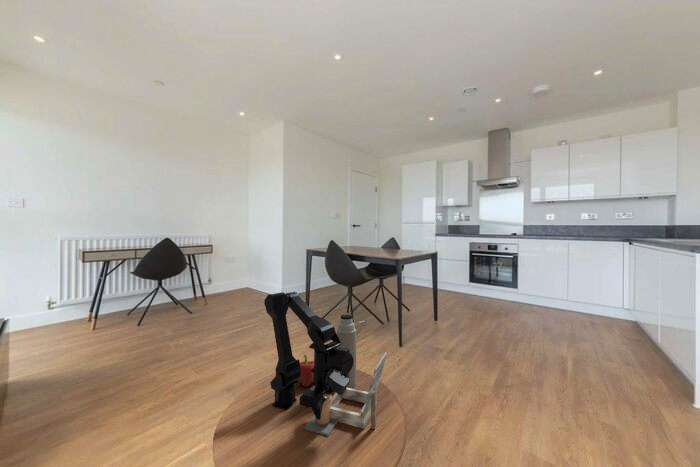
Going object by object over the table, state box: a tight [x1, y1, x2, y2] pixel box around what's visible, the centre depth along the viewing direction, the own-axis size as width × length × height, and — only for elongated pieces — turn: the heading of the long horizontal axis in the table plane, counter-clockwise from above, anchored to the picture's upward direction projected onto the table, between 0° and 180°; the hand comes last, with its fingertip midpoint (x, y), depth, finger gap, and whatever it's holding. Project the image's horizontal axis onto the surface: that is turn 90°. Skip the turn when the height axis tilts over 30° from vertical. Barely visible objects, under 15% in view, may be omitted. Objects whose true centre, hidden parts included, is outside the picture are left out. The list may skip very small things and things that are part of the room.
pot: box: [314, 392, 333, 424], centre depth 84 cm, size 6×6×7 cm
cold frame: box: [331, 352, 388, 430], centre depth 91 cm, size 18×14×19 cm
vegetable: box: [295, 354, 314, 387], centre depth 110 cm, size 11×10×10 cm
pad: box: [304, 415, 339, 437], centre depth 84 cm, size 8×8×1 cm
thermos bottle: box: [336, 314, 357, 389], centre depth 109 cm, size 8×8×28 cm
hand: (322, 414), depth 84 cm, fingers closed on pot, 5 cm apart
